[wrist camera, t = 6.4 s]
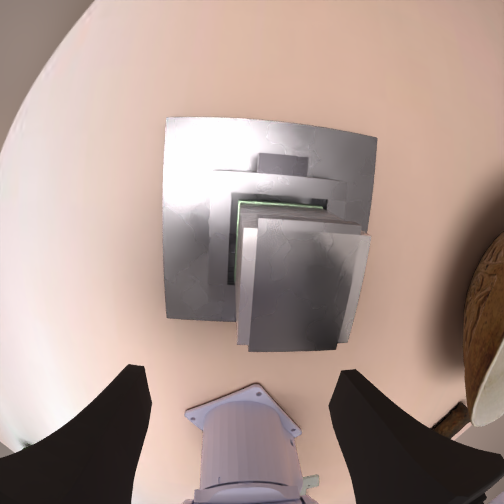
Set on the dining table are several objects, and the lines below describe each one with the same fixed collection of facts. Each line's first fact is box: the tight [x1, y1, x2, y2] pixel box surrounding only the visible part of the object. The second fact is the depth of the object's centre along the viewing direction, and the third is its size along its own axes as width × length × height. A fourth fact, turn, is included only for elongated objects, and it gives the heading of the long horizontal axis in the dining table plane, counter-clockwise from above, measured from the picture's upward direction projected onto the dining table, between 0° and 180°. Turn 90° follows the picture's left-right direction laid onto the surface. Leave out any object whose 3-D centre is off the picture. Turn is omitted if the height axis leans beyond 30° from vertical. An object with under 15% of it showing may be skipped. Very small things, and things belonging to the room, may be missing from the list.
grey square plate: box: [163, 117, 377, 322], centre depth 16 cm, size 13×13×4 cm
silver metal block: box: [234, 199, 371, 352], centre depth 12 cm, size 5×4×6 cm
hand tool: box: [433, 403, 471, 439], centre depth 27 cm, size 19×4×5 cm, turn 136°
